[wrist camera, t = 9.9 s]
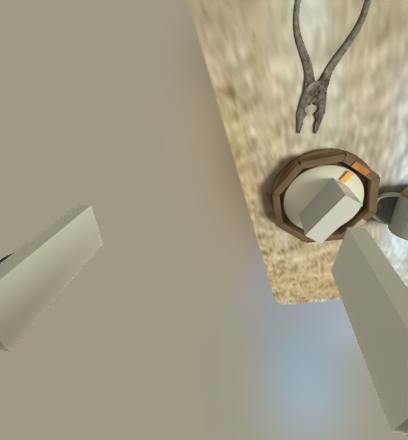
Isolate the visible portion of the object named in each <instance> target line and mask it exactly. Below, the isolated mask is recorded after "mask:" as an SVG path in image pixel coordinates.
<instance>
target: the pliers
mask: <svg viewBox="0 0 408 440" xmlns="http://www.w3.org/2000/svg"><path fill="white" fill-rule="evenodd" d="M300 1H301V0H296V2H295V8H294V35H295V40H296V44H297V47H298V50H299V53H300V56H301V59H302V63H303V67H304V72H305V84H304V92H303V95H302V98H301V101H300V104H299V107H298V110H297V129H298V133H300V131H301V128H302V125H303V119H304V117H305V116H306V115H307V113H306V112H305V107H306V106H307V105H310V104H311V102H314V104H315V105H318V107H319V108H318V111H316V112H315V113H314V115H315V117H316V122H315V124H314V133H317V131H318V128H319V126H320V123H321V121H322V119H323V116H324V114H325V107H326V94H327V92H326V91H327V88H328V84H329V81H330V77H331V74H332V72H333V70H334V69H335V67H336V65H337V64H338V62H339V61H340V59H341V58H342V56H343V55H344V53H345V52H346V51H347V49H348V48H349V46H350V45H351V43H352V42H353V41H354V39H355V37H356V36H357V34H358V33H359V31H360V29H361V27H362V25H363V23H364V21H365V18H366V15H367V13H368V10H369V6H370V3H371V0H366V1H365V4H364V7H363V10H362V13H361V15H360V18H359V20H358V22H357V24H356V26H355V28H354V30H353V31H352V33H351V34H350V36H349V37H348V38H347V40H346V41H345V42H344V44H343V45H342V46H341V48H340V49H339V50H338V52H337V53H336V54H335V56H334V57H333V58H332V60H331V61H330V62H329V64H328V66H327V67H326V69H325V71H324V72H323V74H322V76H321V78H320V80H319V81H315V80H314V73H313V68H312V64H311V61H310V58H309V55H308V53H307V51H306V48H305V45H304V42H303V40H302V36H301V33H300V27H299V8H300Z"/></svg>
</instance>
